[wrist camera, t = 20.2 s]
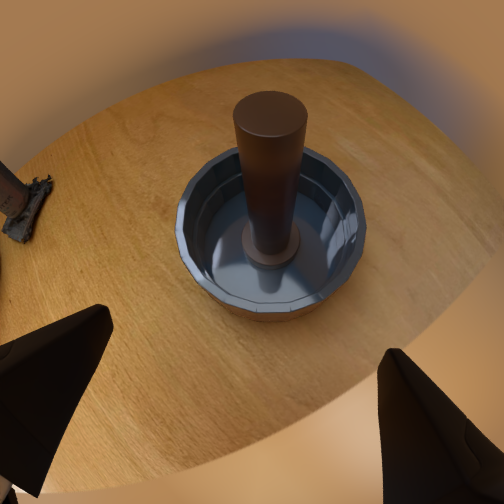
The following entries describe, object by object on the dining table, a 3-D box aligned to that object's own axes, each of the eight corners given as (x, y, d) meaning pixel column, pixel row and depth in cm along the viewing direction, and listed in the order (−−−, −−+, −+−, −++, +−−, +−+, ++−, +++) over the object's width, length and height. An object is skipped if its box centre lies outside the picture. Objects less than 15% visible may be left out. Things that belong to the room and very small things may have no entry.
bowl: (368, 229, 22) (392, 196, 17) (291, 354, 19) (299, 355, 14) (253, 161, 25) (249, 120, 20) (167, 263, 22) (139, 237, 17)
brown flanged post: (281, 280, 21) (297, 174, 8) (231, 252, 22) (187, 129, 9) (308, 233, 22) (344, 102, 9) (261, 209, 23) (251, 71, 10)
